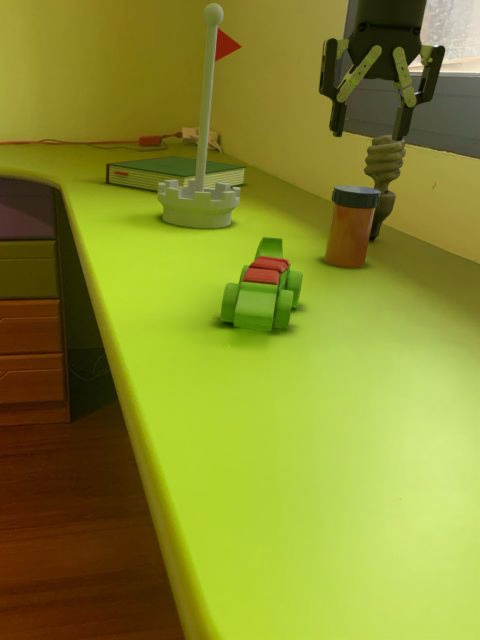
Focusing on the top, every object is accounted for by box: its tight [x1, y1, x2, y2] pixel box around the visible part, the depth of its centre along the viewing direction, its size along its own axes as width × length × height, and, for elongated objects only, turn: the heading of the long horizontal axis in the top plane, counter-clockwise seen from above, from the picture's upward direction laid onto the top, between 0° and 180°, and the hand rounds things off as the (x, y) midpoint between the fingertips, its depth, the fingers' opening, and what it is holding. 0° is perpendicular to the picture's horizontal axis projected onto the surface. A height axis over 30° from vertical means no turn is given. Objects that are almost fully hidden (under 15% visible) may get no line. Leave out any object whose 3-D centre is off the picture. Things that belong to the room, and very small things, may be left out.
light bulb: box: [363, 134, 407, 242], centre depth 101 cm, size 6×6×15 cm
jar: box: [323, 202, 375, 269], centre depth 90 cm, size 5×5×9 cm
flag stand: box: [156, 2, 243, 229], centre depth 104 cm, size 13×13×30 cm
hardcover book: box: [105, 155, 247, 193], centre depth 143 cm, size 25×19×4 cm
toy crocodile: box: [220, 236, 304, 332], centre depth 69 cm, size 20×7×6 cm, turn 163°
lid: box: [330, 184, 381, 207], centre depth 88 cm, size 6×6×2 cm
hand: (366, 138), depth 85 cm, fingers open, 7 cm apart
